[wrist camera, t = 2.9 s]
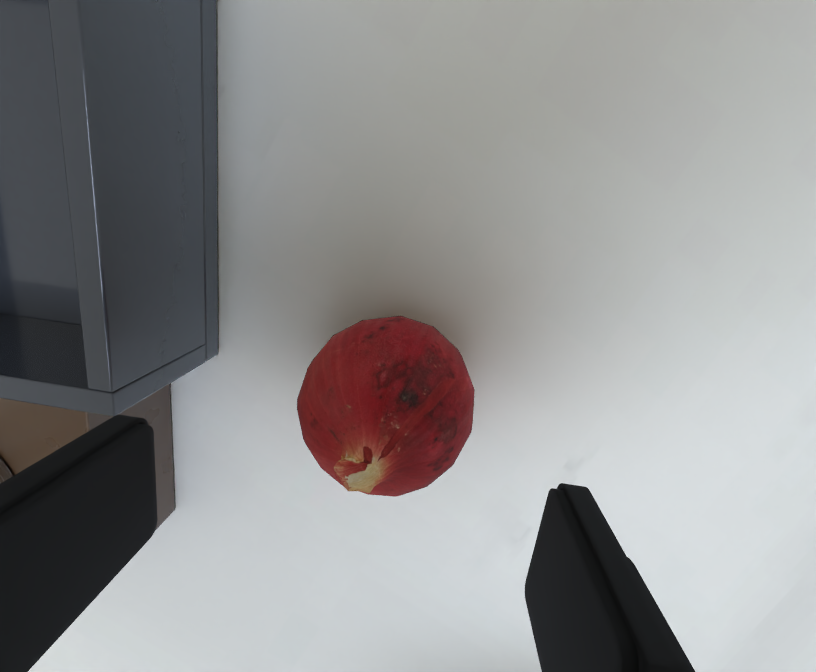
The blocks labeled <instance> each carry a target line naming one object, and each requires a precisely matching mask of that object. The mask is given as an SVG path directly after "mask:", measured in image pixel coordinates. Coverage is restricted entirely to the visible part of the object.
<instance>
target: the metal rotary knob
mask: <svg viewBox="0 0 816 672" xmlns="http://www.w3.org/2000/svg"><path fill="white" fill-rule="evenodd" d="M12 476H13V475H12V473H11V471H10V470H9V468H8V467H7V465H6V464H5V463H4V461H3V460H2V459H1V458H0V483H2V482H4V481H6V480H7V479H9V478H11V477H12Z"/></svg>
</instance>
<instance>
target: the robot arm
mask: <svg viewBox="0 0 816 672" xmlns="http://www.w3.org/2000/svg"><path fill="white" fill-rule="evenodd" d="M157 520H158V518H157V495H156V472H155V448H154V431H153V428H152V427H151V426H149V425H148V422H147V420H146V419H144V418H139V417H133V416H126V415H116V416H113V417H112V418H110V419H108V420H107V421H105V422H103V423H102V424H100V425H98V426H97V427H95V428H93V429H92V430H90V431H88V432H86V433H85V434H83V435H81V436H80V437H78V438H76V439H75V440H73V441H71V442H70V443H68V444H66V445H65V446H63V447H61V448H59V449H58V450H56V451H54V452H53V453H51V454H49V455H48V456H46V457H44V458H43V459H41V460H39V461H38V462H36V463H34V464H32V465H31V466H29V467H27V468H26V469H24V470H22V471H21V472H19V473H17V474H16V475H14V476H12V477H11V478H9V479H7V480H6V481H4V482H2V483H0V672H28V671H29V669H30V668H31V667H32V666H33V665H34V664H35V663H36V662H37V661H38V660H39V659H40V658H41V656H42V655H43V654H44V653H45V652H46V651H47V650H48V649H49V648H50V647H51V646H52V644H53V643H54V642H55V641H56V640H57V639H58V638H59V637H60V636H61V635H62V634H63V633H64V631H65V630H66V629H67V628H68V627H69V626H70V625H71V624H72V623H73V622H74V621H75V619H76V618H77V617H78V616H79V615H80V614H81V613H82V612H83V611H84V610H85V609H86V607H87V606H88V605H89V604H90V603H91V602H92V601H93V600H94V599H95V598H96V597H97V596H98V594H99V593H100V592H101V591H102V590H103V589H104V588H105V587H106V586H107V585H108V584H109V582H110V581H111V580H112V579H113V578H114V577H115V576H116V575H117V574H118V573H119V572H120V570H121V569H122V568H123V567H124V566H125V565H126V564H127V563H128V562H129V561H130V560H131V559H132V557H133V556H134V555H135V554H136V553H137V552H138V551H139V550H140V549H141V548H142V547H143V545H144V544H145V543H146V542H147V541H148V540H149V539H150V538H151V536H152V535H153V533H154V531H155V529H156V526H157ZM525 599H526V604H527V608H528V613H529V617H530V621H531V626H532V630H533V635H534V639H535V643H536V648H537V652H538V657H539V661H540V665H541V670H542V672H695V670H694V669H693V667H692V665H691V663H690V662H689V660H688V658H687V656H686V655H685V653H684V651H683V649H682V648H681V646H680V644H679V642H678V641H677V639H676V637H675V635H674V634H673V632H672V630H671V628H670V627H669V625H668V623H667V621H666V619H665V618H664V616H663V614H662V612H661V611H660V609H659V607H658V605H657V604H656V602H655V600H654V598H653V597H652V595H651V593H650V591H649V590H648V588H647V586H646V584H645V583H644V581H643V579H642V577H641V576H640V574H639V572H638V570H637V568H636V567H635V565H634V564H633V562H632V561H631V560H630V559H629V558H628V557H626V555H625V553H624V551H623V550H622V548H621V546H620V544H619V542H618V541H617V539H616V537H615V535H614V533H613V532H612V530H611V528H610V526H609V524H608V523H607V521H606V519H605V517H604V516H603V514H602V512H601V510H600V508H599V507H598V505H597V503H596V501H595V499H594V498H593V496H592V494H591V492H590V491H589V489H588V488H586V487H582V486H576V485H569V484H563V483H561V484H559V486H558V487H557V489H550V491H549V493H548V497H547V501H546V505H545V509H544V512H543V516H542V520H541V524H540V528H539V532H538V536H537V540H536V543H535V547H534V551H533V555H532V559H531V563H530V567H529V571H528V575H527V578H526V583H525Z"/></svg>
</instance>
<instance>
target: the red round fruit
mask: <svg viewBox="0 0 816 672" xmlns="http://www.w3.org/2000/svg"><path fill="white" fill-rule="evenodd" d="M473 406H474V387H473V385H472V382H471V379H470V377H469V374H468V371H467V369H466V366H465V363H464V361H463V358H462V356H461V354H460V352H459V350H458V349H457V348H456V347H455V346H453V345H452V344H451V343H450V342H449V341H448V340H447V339H446V338H445V337H444V336H443V335H442V334H441V333H440V332H439V331H438V330H436V329H435V328H434V327H433V326H430V325H427V324H424V323H421V322H418V321H415V320H412V319H409V318H406V317H402V316H396V317H387V318H378V319H370V320H362V321H360V322H358V323H356V324H354V325H352V326H350V327H349V328H347V329H345V330H343V331H341V332H339V333H337V334H335V335H333V336H332V337H331V339H330V340H329V341H328V342H327V344H326V345H325V346H324V347H323V348H322V350H321V351H320V352H319V353H318V354H317V356H316V357H315V358H314V359H313V361H312V362H311V364H310V365H309V367H308V369H307V372H306V375H305V378H304V381H303V384H302V387H301V390H300V393H299V396H298V399H297V410H298V415H299V420H300V425H301V430H302V435H303V439H304V441H305V443H306V445H307V447H308V448H309V450H310V451H311V453H312V455H313V456H314V458H315V459H316V461H317V462H318V464H319V466H320V467H321V468H322V469H323V470H324V471H325V472H327V473H328V474H329V475H330V476H332V477H333V478H334V479H335V480H336V481H338V482H339V483H340V484H341V485H343V486H344V487H345V488H346V489H347V490H348V491H360V492H363V493H366V494H371V495H383V496H400V495H403V494H406V493H409V492H412V491H415V490H418V489H421V488H424V487H427V486H428V485H429V484H431V483H432V482H433V481H435V480H436V479H437V478H438V477H439V476H441V475H442V474H443V473H444V472H445V471H447V470H448V469H449V468H450V467H451V466H452V465H453V464H454V462H455V460H456V459H457V457H458V455H459V453H460V451H461V450H462V448H463V446H464V444H465V442H466V441H467V439H468V437H469V435H470V433H471V430H472V422H473Z"/></svg>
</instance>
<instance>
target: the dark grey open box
mask: <svg viewBox="0 0 816 672" xmlns="http://www.w3.org/2000/svg"><path fill="white" fill-rule="evenodd" d="M217 354H218V251H217V63H216V0H0V398H3V399H9V400H15V401H21V402H27V403H33V404H39V405H45V406H51V407H58V408H64V409H70V410H76V411H82V412H88V413H94V414H100V415H106V416H112V417H113V416H116V415H118V414H120V413H121V412H123V411H125V410H126V409H128V408H130V407H131V406H133V405H135V404H136V403H138V402H140V401H141V400H143V399H145V398H146V397H148V396H150V395H151V394H153V393H155V392H156V391H158V390H160V389H161V388H163V387H165V386H166V385H168V384H170V383H171V382H173V381H175V380H176V379H178V378H180V377H181V376H183V375H185V374H186V373H188V372H189V371H191V370H193V369H194V368H196V367H198V366H199V365H201V364H203V363H204V362H205V361H207V360H209V359H211V358H212V357H214V356H216V355H217Z"/></svg>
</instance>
